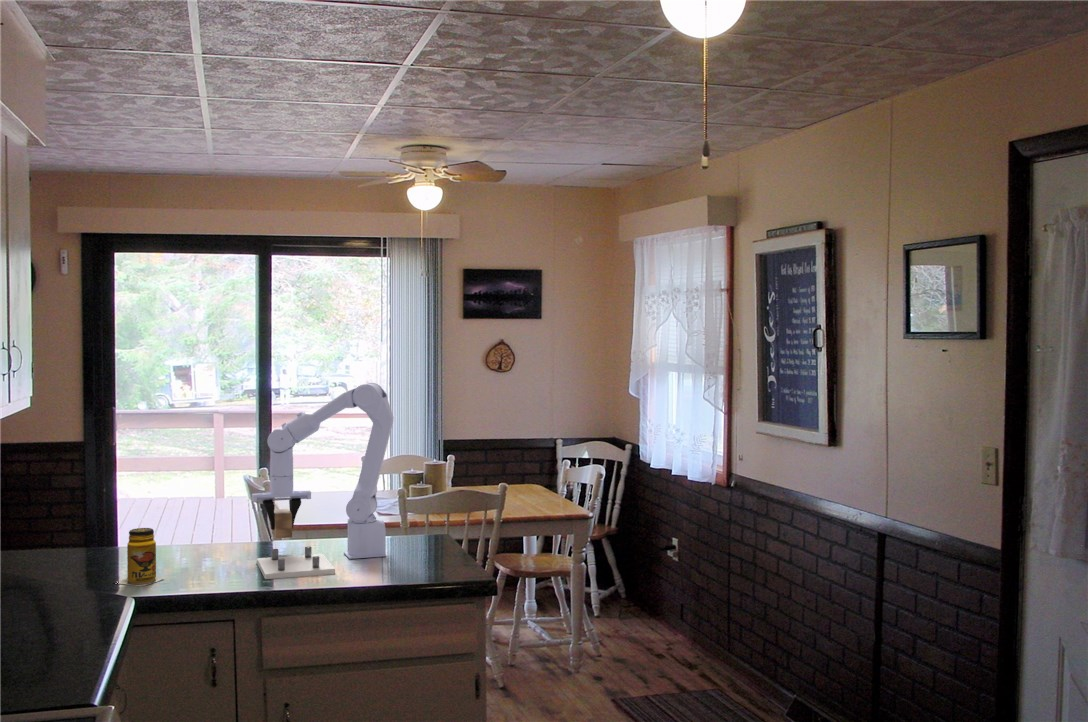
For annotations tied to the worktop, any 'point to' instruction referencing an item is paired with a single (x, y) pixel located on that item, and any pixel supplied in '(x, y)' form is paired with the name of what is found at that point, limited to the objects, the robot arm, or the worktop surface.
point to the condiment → (141, 558)
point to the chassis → (294, 565)
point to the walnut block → (282, 523)
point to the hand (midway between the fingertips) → (282, 528)
